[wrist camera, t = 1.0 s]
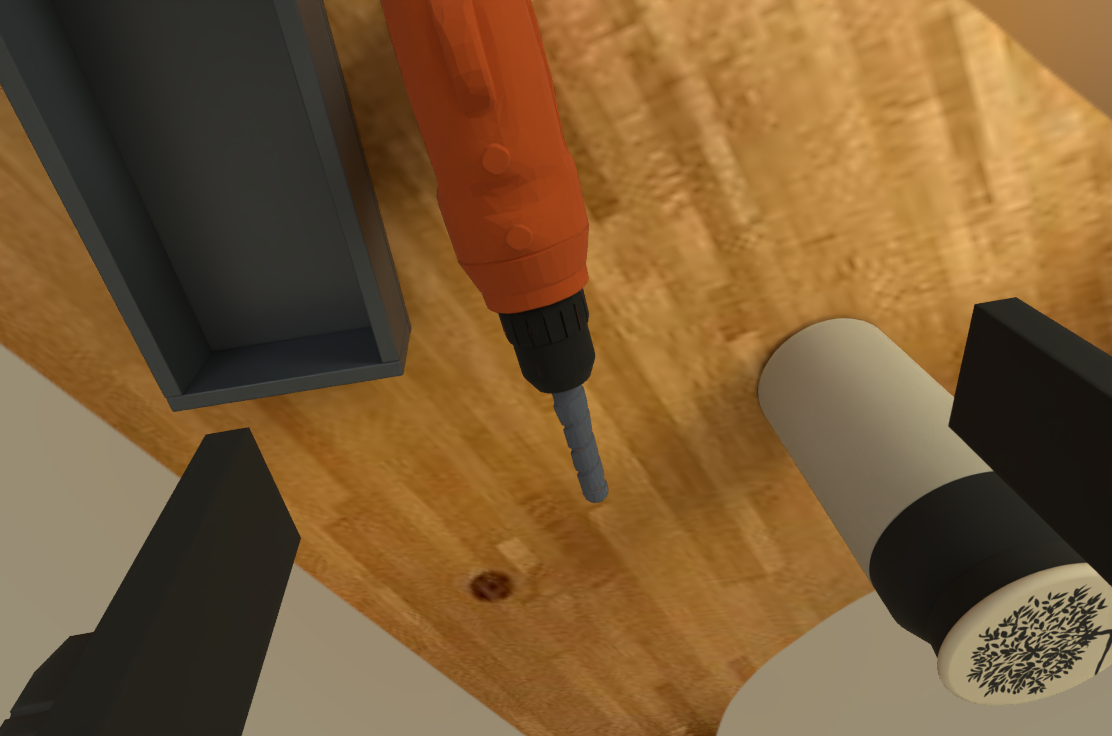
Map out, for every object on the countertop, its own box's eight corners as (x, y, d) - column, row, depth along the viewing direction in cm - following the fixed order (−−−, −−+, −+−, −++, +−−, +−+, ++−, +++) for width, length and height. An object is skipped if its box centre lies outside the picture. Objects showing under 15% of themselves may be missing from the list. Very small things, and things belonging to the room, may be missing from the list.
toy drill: (523, 375, 35) (536, 572, 22) (395, -27, 27) (289, -115, 14) (613, 350, 35) (684, 534, 21) (510, -62, 27) (519, -186, 14)
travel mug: (747, 436, 41) (911, 722, 26) (766, 320, 37) (974, 579, 21) (873, 426, 41) (1106, 699, 26) (905, 310, 37) (1204, 555, 22)
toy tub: (-99, -291, 21) (-226, -346, 18) (232, -335, 22) (180, -398, 18) (206, 361, 34) (172, 412, 31) (411, 328, 35) (403, 375, 31)
